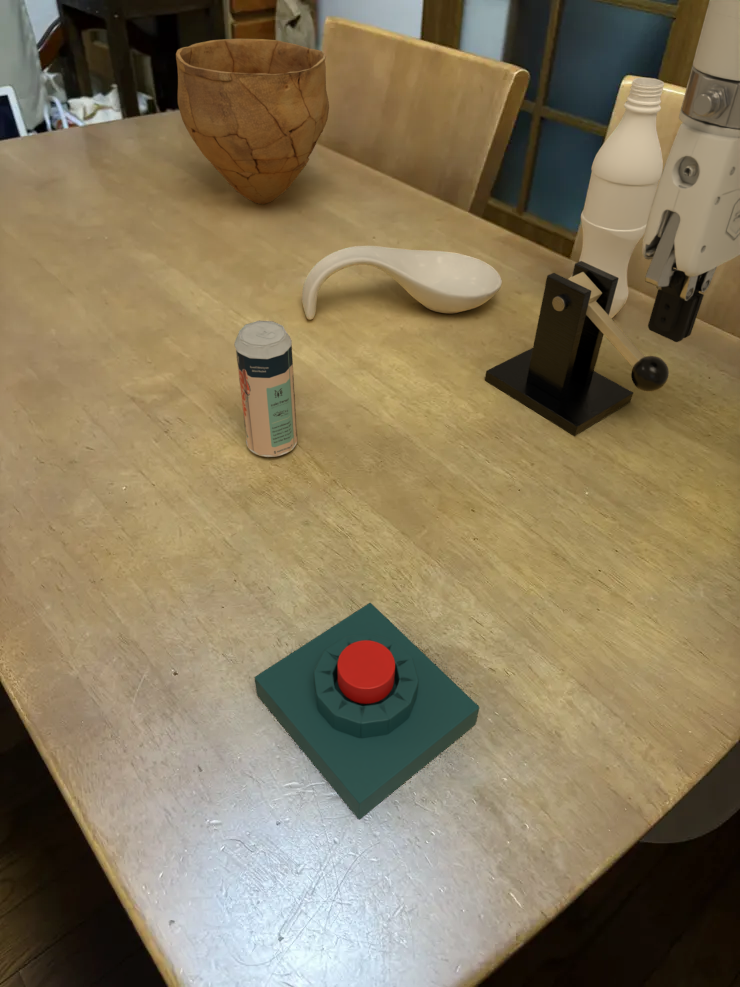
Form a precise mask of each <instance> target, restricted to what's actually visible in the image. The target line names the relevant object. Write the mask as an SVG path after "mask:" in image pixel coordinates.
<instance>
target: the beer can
mask: <svg viewBox="0 0 740 987" xmlns="http://www.w3.org/2000/svg"><path fill="white" fill-rule="evenodd" d="M292 344H293V340H292V338H291V336H290V334H289V333H288V332H287V331H286V328H285V327H284V325H283V324H280V323H278V322H276V321H275V320H274V321H273V320H256V321H252V322H248V323H245V324H244V325H243V326H242V327H241V328H240V329H239V330H238V333H237V336H236V338H235V340H234V348H235V355H236V362H237V371H238V381H239V387H240V388H239V389H240V398H241V405H242V414H243V423H244V430H245V444H246V447H247V448H248V450H249V451H250V452H251V453H253V454H254V455H256V456H259V457H265V458H275V457H281V456H283V455H285V454H288V453H289V452H291V451H292V450H294V448H296V446H297V444H298V429H297V428H298V427H297V410H296V397H295V396H296V394H295V393H296V392H295V377H294V376H295V375H294V362H293V360H294V359H293V346H292Z"/></svg>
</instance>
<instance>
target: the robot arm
mask: <svg viewBox="0 0 740 987" xmlns="http://www.w3.org/2000/svg"><path fill="white" fill-rule="evenodd" d="M686 84H687V85H686V88H685V92H684V96H683V99H682V103H681V107H680V111H679V114H678V119H679V121H680V122H681V123H680V125H679V127H678V130H677V133H676V135H675V137H674V140H673V142H672V144H671V147H670V150H669V153H668V154H667V155H668V156H667V158H666V161H665V164H664V165H663V171H662V175H661V178H660V180H659V182H658V186H657V189H656V193H655V197H654V200H653V203H652V206H651V210H650V214H649V217H648V221H647V225H646V229H645V233H644V235H643V237H642V238H643V239H642V244H641V254H642V257H643V258H644V259H645V260H648V261H649V260H651V261H650V264H649V266H648V269H647V271H646V274H645V276H644V282H645V283H648V284H650V285H653V286H655V287H656V290H657V292H656V296H655V300H654V303H653V306H652V309H651V313H650V317H649V320H648V324H647V328H648V330H649V331H651V332H653V333H655V334H657V335H660V336H662V337H664V338H665V339H668V340H670V341H672V342H675V343H679V342H681V341H683V340H684V339H687V338H688V337H690V336H691V335H692V332H693V329H694V325H695V322H696V320H697V316H698V314H699V311H700V308H701V306H702V305H701V304H702V302H703V299H704V296H705V295H704V293H705V292H706V291H707V290H708V288H709V287H710V285H711V282H712V280H713V277H714V275H715V272H716V270H717V268H718V267H719V266H721V265H723V264H725V263H727V262H729V261H731V260H733V259H735V258H737V257H739V256H740V0H709V1H708V5H707V8H706V11H705V16H704V19H703V24H702V27H701V31H700V35H699V39H698V42H697V46H696V50H695V54H694V58H693V62H692V65H691V69H690V72H689V77H688V81H687V83H686Z"/></svg>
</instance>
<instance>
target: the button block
mask: <svg viewBox="0 0 740 987" xmlns="http://www.w3.org/2000/svg"><path fill="white" fill-rule="evenodd" d="M364 640H368V641H374V642H378V643H380V644H382V645H383V646H385V647H386V648H387V649H388V650H389V651H390V652H391V653H392V655H393V657H394V660H395V676H394V685H393V688H392V690H391V691H390V693H389V694H388V695H387V696H386V697H385V698H384V699H382V700H380V701H378V702H375V703H371V704H362V703H357V702H354V701H352V700H350V699H349V698H347V697H346V696H345V695H344V694H343V693H342V691H341V690H340V688H339V685H338V671H337V664H338V658H339V656H340V654H341V652H342V651H343V650H344V649H345V648H346V647H347V646H349V645H350V644H352V643H355V642H358V641H364ZM253 678H254V683H255V690H256V696H257V697H258V699H259V700H260V701H261V702H262V703H263V704H264V705H265V707H266V708H267V709H268V710H269V712H270V713H271V714H272V716H273V717H274V718H275V719H276V720H277V722H278V723H279V724H280V725H281V726H282V728H283V729H284V730H285V732H286V733H287V734H288V735H289V736H290V737H291V738H292V740H293V741H294V742H295V743H296V745H297V746H298V747H299V748H300V750H301V751H302V752H303V753H304V755H305V756H306V757H307V758H308V760H309V761H310V762H311V763H312V764H313V765H314V767H315V768H316V769H317V770H318V772H319V773H320V774H321V775H322V777H323V778H324V779H325V781H326V782H327V783H328V784H329V785H330V786H331V788H332V789H333V790H334V791H335V792H336V794H337V795H338V796H339V798H340V799H341V800H342V801H343V802H344V803H345V805H346V806H347V807H348V808H349V810H350V811H351V812H352V813H353V815H354V816H355V817H356V818H357V819H358V820H361V819H362V818H364V816H366V815H367V814H368V813H369V812H371V811H372V810H373V809H374V808H376V807H377V806H378V805H379V804H380V803H382V802H383V801H384V800H385V799H387V798H388V797H389V796H390V795H392V794H393V793H394V792H395V791H397V790H398V789H399V788H400V787H401V786H403V785H404V784H405V783H406V782H407V781H409V780H410V779H411V778H412V777H413V776H415V775H416V774H417V773H419V771H421V770H423V769H424V768H425V767H426V766H428V764H429V763H431V762H432V761H433V760H434V759H436V758H437V757H438V756H440V754H442V753H443V752H445V750H447V749H448V748H449V747H450V746H451V745H453V744H454V743H455V742H457V741H458V740H459V739H460V738H461V737H463V736H464V735H465V734H466V733H467V732H469V731H470V730H471V729H472V728H473V727H474V726H475V727H476V724H477V720H478V717H479V716H478V715H479V712H480V706H479V704H477V703H476V702H475V701H474V700H473V699H472V698H471V697H470V696H469V695H468V694H467V693H466V692H465V691H464V690H462V689H461V687H459V686H458V684H456V683H455V682H454V681H453V680H452V679H451V678H450V677H449V676H448V675H447V674H446V673H445V672H444V671H443V670H442V669H440V668H439V667H438V665H437V664H436V663H435V662H433V661H432V660H431V659H430V658H429V657H428V656H427V655H426V654H425V653H424V652H423V651H422V650H421V649H420V648H419V647H418V646H417V645H415V643H414V642H412V641H411V640H410V639H409V637H407V636H406V635H405V634H404V633H403V632H402V631H401V630H400V629H399V628H398V627H397V626H396V625H394V624H393V622H391V620H390V619H389V618H387V617H386V616H385V615H384V614H383V613H382V612H381V611H380V610H379V609H378V608H377V607H376V606H375V605H374V604H373V603H372V602H369V603H367V604H365V605H363V606H362V607H360V608H359V609H358V610H356V611H355V612H353V613H352V614H350V615H349V616H346V617H345V618H344V619H342V620H341V621H339V622H338V623H336V624H335V625H333V626H331V627H330V628H328V629H326V630H325V631H323V632H322V633H320V634H319V635H317V636H316V637H314V638H313V639H311V640H310V641H308V642H306V643H305V644H304V645H302V646H300V647H298V648H297V649H296V650H293V651H292V652H291V653H289V654H288V655H286V656H285V657H283V658H281V659H280V660H279V661H277V662H275V663H274V664H273V665H270V666H269V667H267V668H266V669H264V670H263V671H261V672H260V673H258V674H256V675H255V676H254V677H253Z"/></svg>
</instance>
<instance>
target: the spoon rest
mask: <svg viewBox="0 0 740 987" xmlns="http://www.w3.org/2000/svg"><path fill="white" fill-rule="evenodd" d="M353 266H370V267H373V268H376V269H379V270H380V271H382V272H384V273H385V274H387V275H388V276H389V277H391V279H393V280H394V281H395V282H397V284H399V286H400V287H402V288H403V289H404V290H405V291H406V292H407V293H408V294H409V295H410V296H411V297H412V298H413V299H414V300H416V301H417V302H418V303H420V304H422V306H423V307H425V308H426V309H428V310H430V311H432V312H436V313H442V314H457V313H462V312H465V311H470V310H473V309H476V308H478V307H480V306H482V305H484V304H485V303H487V302H488V301H489V300H491V299H492V298H493V297H494V296H495V295H496V294H497V293H498V292H499V290H501V287H502V284H503V281H502V277H501V275H500V273H499V271H498V270H497V269H496V268H494V267H493V266H492V265H491V264H489V263H487V262H486V261H484V260H481V259H479V258H477V257H473V256H472V255H471V256H470V255H467V254H463V253H458V252H453V251H444V250H429V249H426V250H425V249H408V248H399V247H391V246H390V247H389V246H380V245H355V246H354V245H353V246H349V247H345V248H341V249H338V250H335V251H333V252H332V253H329V254H327V255H325V256H324V257H322V258H321V259H320V260H319V261H317V262H316V263H315V264H314V265H313V267H312V268H311V269H310V271H309V272H308V274H307V275H306V278H305V279H304V282H303V286H302V289H301V302H302V303H301V304H302V306H303V311H304V315H305V317H306V319H307V320H313V319H314V318H315V316H316V313H317V302H318V297H319V293H320V290H321V288H322V286H323V284H324V283H325V282H326V281H327V280H328V279H329V278H330V277H331V276H332V275H334V274H336V273H337V272H339V271H342V270H344V269H346V268H350V267H353Z"/></svg>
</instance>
